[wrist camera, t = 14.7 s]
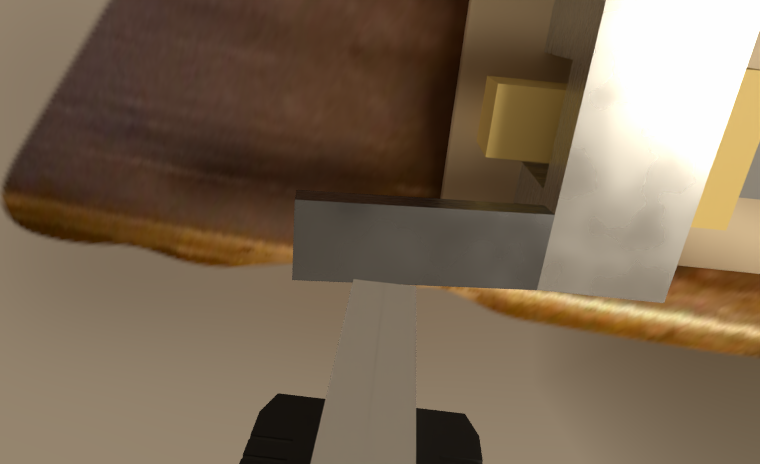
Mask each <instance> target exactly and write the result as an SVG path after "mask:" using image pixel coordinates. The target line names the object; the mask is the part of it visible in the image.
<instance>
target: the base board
mask: <svg viewBox="0 0 760 464" xmlns="http://www.w3.org/2000/svg"><path fill="white" fill-rule="evenodd" d="M554 1H555V0H469V5H468V12H467V19H466V26H465V32H464V39H463V46H462V53H461V60H460V67H459V74H458V80H457V87H456V94H455V101H454V108H453V115H452V121H451V128H450V135H449V142H448V149H447V156H446V163H445V169H444V176H443V183H442V190H441V197H440V199H453V200H469V201H486V202H502V203H513V202H514V197H515V192H516V188H517V183H518V178H519V173H520V168H521V163H522V162H527V163H537V164H547V165H549V164H550V163H540V162H530V161H520V160H510V159H499V158H489V157H485V155H484V154H483V152H482V150H481V148H480V147H479V145H478V143H477V135H478V129H479V123H480V117H481V111H482V105H483V99H484V92H485V86H486V80H487V76H495V77H505V78H515V79H526V80H536V81H546V82H556V83H567V84H568V79H569V75H570V70H571V66H572V61H573V60H572V59H568V58H564V57H560V56H557V55H553V54H549V53H545V52H544V50H545V45H546V40H547V36H548V31H549V26H550V21H551V16H552V11H553V6H554ZM747 67H748V68H755V69H760V30H759V33H758V35H757V38H756V41H755V44H754V47H753V50H752V53H751V55H750V58H749V61H748V64H747ZM677 265H681V266H690V267H700V268H709V269H719V270H729V271H738V272H748V273H758V274H760V200H759V199H749V198H738V200H737V203H736V206H735V208H734V211H733V214H732V216H731V219H730V222H729V224H728V227H727V230H726V231H725V230H715V229H705V228H695V227H690V230H689V233H688V236H687V238H686V241H685V244H684V247H683V250H682V253H681V256H680V258H679V261H678V264H677Z"/></svg>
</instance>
